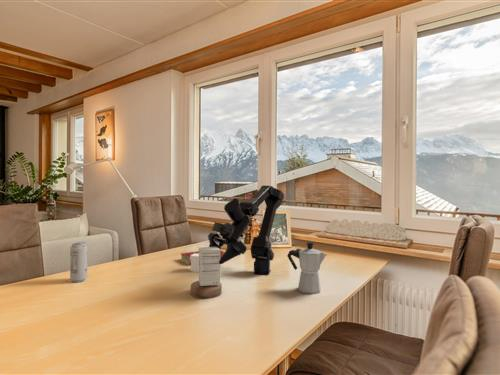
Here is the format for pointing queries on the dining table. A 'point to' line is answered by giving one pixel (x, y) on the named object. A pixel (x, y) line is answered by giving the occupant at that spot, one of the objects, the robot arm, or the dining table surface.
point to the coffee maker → (308, 268)
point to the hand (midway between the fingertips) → (212, 260)
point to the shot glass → (194, 262)
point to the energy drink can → (78, 262)
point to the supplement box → (209, 266)
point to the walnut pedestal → (205, 290)
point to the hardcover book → (186, 256)
